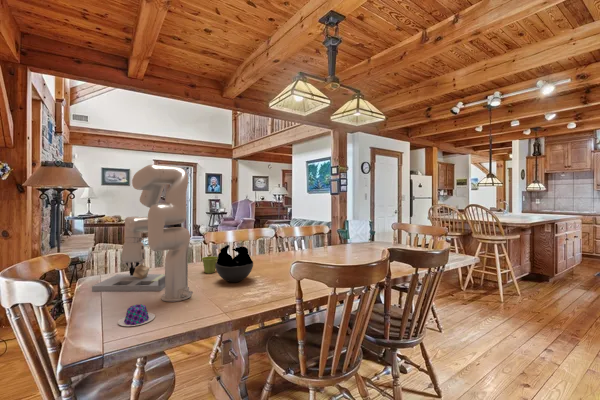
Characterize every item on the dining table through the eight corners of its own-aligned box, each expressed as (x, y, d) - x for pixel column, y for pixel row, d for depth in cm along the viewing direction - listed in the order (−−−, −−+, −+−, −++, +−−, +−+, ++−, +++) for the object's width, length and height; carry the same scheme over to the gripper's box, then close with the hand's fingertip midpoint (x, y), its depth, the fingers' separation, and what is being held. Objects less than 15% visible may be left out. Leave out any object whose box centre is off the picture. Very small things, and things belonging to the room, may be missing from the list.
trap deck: (176, 278, 164) (176, 268, 164) (160, 290, 143) (160, 279, 143) (117, 278, 162) (117, 268, 162) (91, 291, 141) (91, 279, 141)
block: (146, 276, 159) (149, 267, 159) (141, 279, 154) (145, 270, 154) (137, 273, 159) (141, 264, 159) (132, 275, 154) (135, 266, 154)
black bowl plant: (257, 284, 154) (257, 248, 154) (217, 288, 147) (217, 250, 146) (249, 274, 173) (249, 242, 172) (213, 278, 165) (213, 244, 165)
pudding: (159, 321, 109) (159, 307, 109) (122, 331, 101) (122, 316, 101) (149, 311, 118) (149, 298, 118) (114, 320, 110) (114, 306, 110)
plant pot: (201, 270, 181) (201, 256, 181) (217, 269, 184) (217, 255, 184) (201, 274, 172) (201, 259, 172) (218, 273, 175) (218, 259, 175)
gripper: (151, 239, 160) (150, 273, 160) (122, 239, 159) (122, 273, 160) (144, 241, 153) (144, 276, 153) (114, 241, 152) (114, 277, 152)
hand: (133, 274), depth 156 cm, fingers closed
